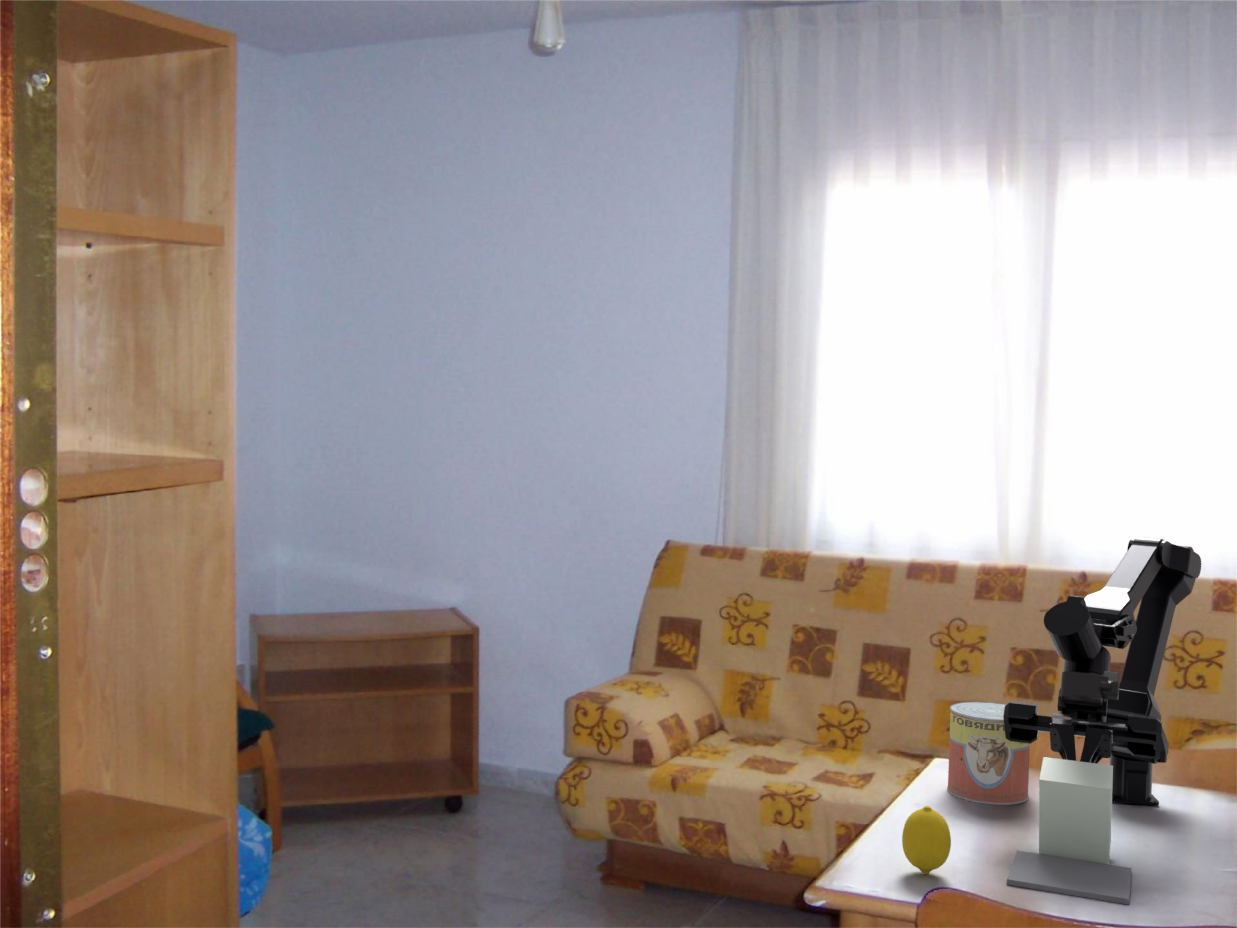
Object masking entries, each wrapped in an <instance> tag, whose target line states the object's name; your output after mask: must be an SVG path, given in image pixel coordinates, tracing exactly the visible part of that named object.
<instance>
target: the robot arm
mask: <svg viewBox="0 0 1237 928" xmlns="http://www.w3.org/2000/svg"><path fill="white" fill-rule="evenodd" d="M1201 571H1202V559H1201V556H1200V555H1199V554H1198V553H1197V552H1195V551H1194V548H1193V547H1192V546H1186V545H1176V544H1173V543H1171V542H1170V541H1168V540H1165V539H1163V538H1158V537H1157V538H1156V537H1155V538H1153V537H1145V536H1143V537H1142V536H1141V537H1140V536H1136V537H1134V538H1131V539H1129V541H1128V544H1127V549H1126V552H1125V554H1124V556H1123V557H1122V559H1121V560H1120V562H1119V564H1118V565H1117V567H1116V568H1115V569H1114V571H1113V573H1112V575H1111V576H1110V577H1109V578H1108V580H1107V582H1106V583H1105V584H1104V586H1103V588H1102V589H1101V590H1098V591H1095V592H1092V593H1089V594H1087V595H1086V596H1085V597H1084V596H1077V595H1068V596H1067V599H1066V601H1062V602H1059V603H1057V604H1055V605H1054V606H1052V607H1051V608H1050V609H1048V611H1046V612H1045V614H1044V616H1043V626H1044V627H1045V629H1046V631H1047V634H1048V636H1049V639H1050V641H1051V642H1052V643H1051V644H1052V645H1053V647H1054V650H1055V652H1056V653H1057V656H1058V657H1060V658H1061V659H1063V660H1064V663H1063V671H1062V672H1061V679H1060V680H1061V683H1060V689H1059V690H1058V697H1057V698H1058V699H1057V711H1058V713H1056V712H1054V713H1053V712H1052V713H1051V716H1048V715H1040V714H1039V712H1038V704H1037V703H1033V702H1032V703H1030V702H1021V701H1014V700H1013V701H1012V700H1010V701H1009V702H1008V703H1005V704H1006V705H1005V708H1004V716H1003V718H1004V727H1005V737H1006V739H1008V740H1009V741H1013V742H1021V743H1029V744H1030V745H1031V744H1033V743H1035V742H1036V741H1038V737H1039V736H1038V735H1039V732H1042V733H1048V734H1049V739H1050V740H1049V742H1050V743H1049V744H1050V750H1051V751H1052V752H1054V753H1058V754H1059V755H1060V757H1061V758H1060V759H1064V760H1072V761H1077V756H1076V755H1077V754H1076V752H1077V751H1076V738H1075V737H1081V738H1084V742H1083V748H1082V749H1081V750H1082V751H1081V755H1080V760H1079V761H1080V762H1088V763H1096V764H1100V762H1101V761H1102V759H1109V765H1112V766H1113V784H1112V803H1117V804H1132V805H1134V804H1135V805H1148V806H1159V805H1160V800H1158V799H1157V798H1156V797H1155V795H1153V794H1152V791H1153V790H1152V788H1153V787H1152V786H1153V765H1157V764H1158V763H1160V764H1161V763H1162V764H1165V763H1167V761H1168V755H1169V746H1170V743H1169V741H1168V738H1167V736H1166V733H1165V730H1164V728H1163V723H1162V722H1163V721H1162V713H1161V711H1160V709H1159V706H1158V704H1157V700H1156V699H1155V692H1156V689H1157V688H1156V687H1157V683H1158V681H1159V680H1158V679H1159V676H1160V672H1161V667H1162V663H1163V661H1164V655H1165V651H1166V647H1167V643H1168V639H1169V635H1170V631H1171V628H1172V622H1173V620H1174V619H1173V618H1174V614H1175V611H1176V607H1177V605H1179V604H1180V603H1181V602H1182V601H1183V600H1184V599H1186V598H1188V596H1190V595H1191V594H1192V592H1193V589H1194V586H1195V583H1196V580H1197V579H1198V578H1199V577H1200V574H1201ZM1138 606H1139V607H1138ZM1137 607H1138V612H1137V614H1136V619H1135V613H1134V612H1135V611H1136V609H1137ZM1127 646H1129V647H1128V650H1127V654H1126V658H1125V661H1124V665H1123V669H1122V674H1121V677H1120V672H1114V671H1111V661H1112V660H1111V659H1112V655H1111V653H1110V651H1109V650H1108V649H1107V648H1110V649H1117V650H1124V649H1126V648H1127Z"/></svg>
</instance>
